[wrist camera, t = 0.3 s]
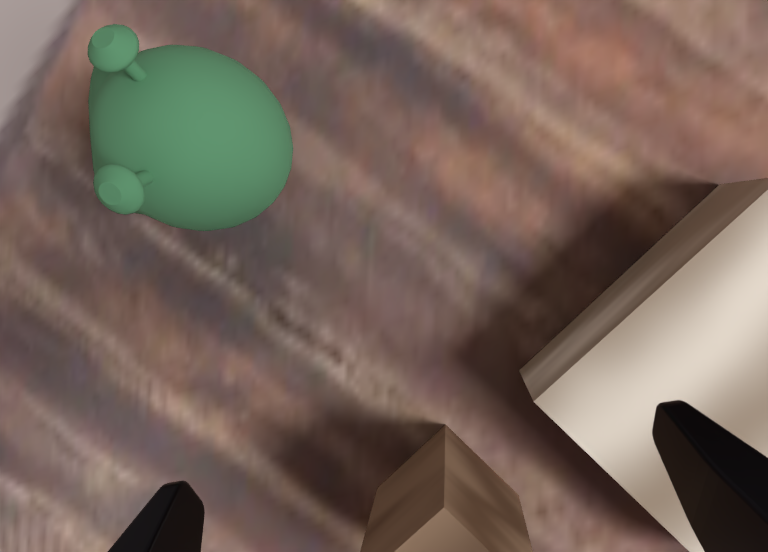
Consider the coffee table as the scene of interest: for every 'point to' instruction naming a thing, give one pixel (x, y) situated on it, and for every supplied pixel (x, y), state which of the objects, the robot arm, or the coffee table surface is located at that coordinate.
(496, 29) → the coffee table surface
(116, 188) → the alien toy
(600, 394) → the birch block
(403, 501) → the walnut block
